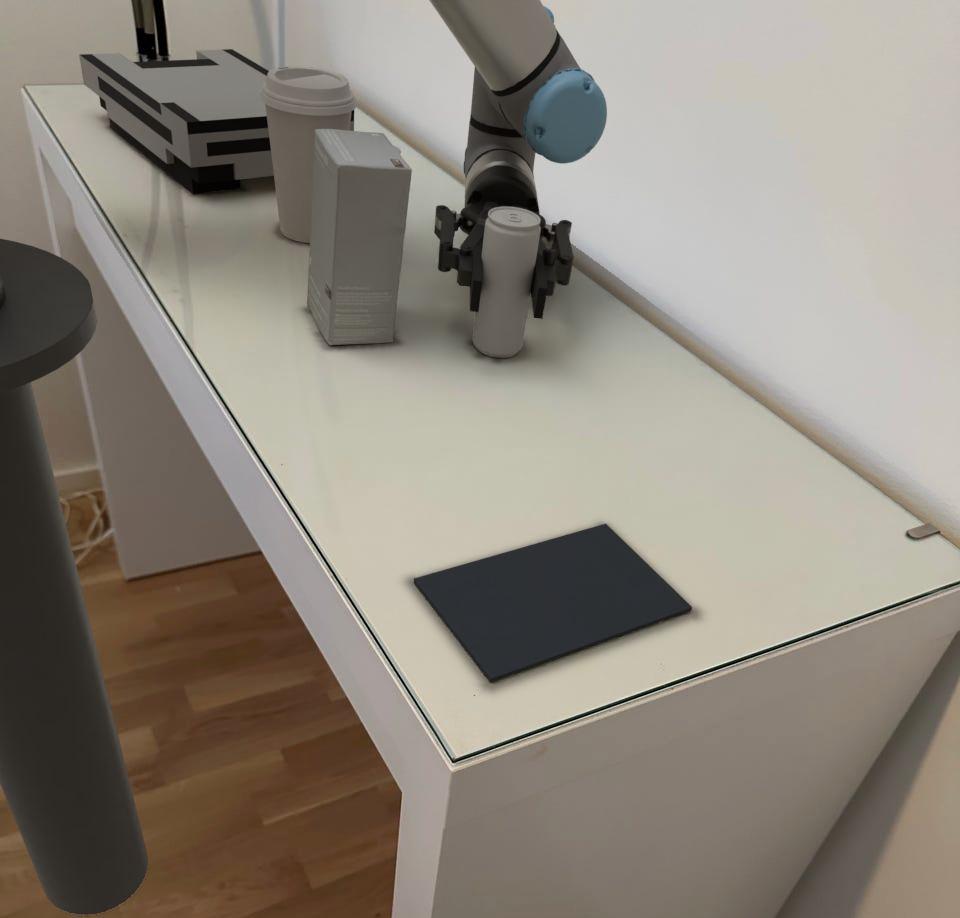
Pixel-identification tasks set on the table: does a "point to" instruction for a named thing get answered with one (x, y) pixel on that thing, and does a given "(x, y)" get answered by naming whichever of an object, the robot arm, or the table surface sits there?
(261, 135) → the game console
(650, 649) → the table surface
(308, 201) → the coffee cup
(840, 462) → the table surface
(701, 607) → the table surface
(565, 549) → the mat
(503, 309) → the beverage can
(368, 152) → the cosmetic box
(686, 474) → the table surface
